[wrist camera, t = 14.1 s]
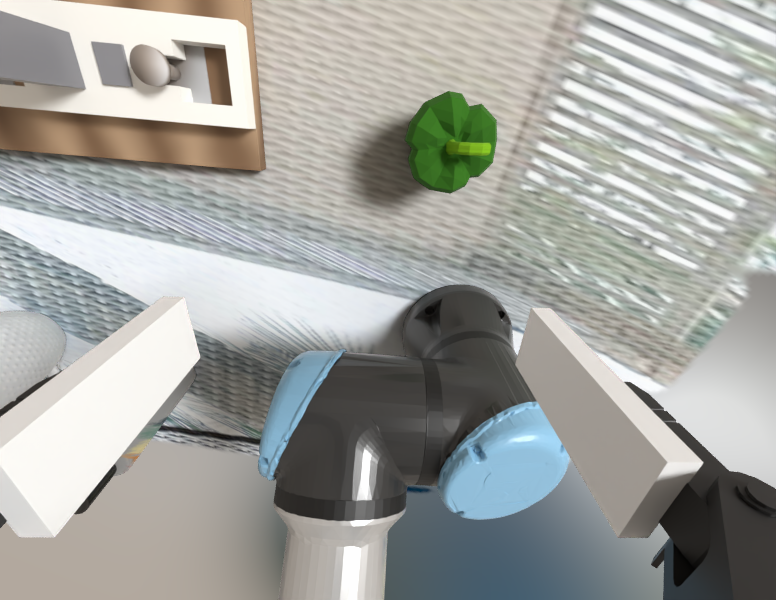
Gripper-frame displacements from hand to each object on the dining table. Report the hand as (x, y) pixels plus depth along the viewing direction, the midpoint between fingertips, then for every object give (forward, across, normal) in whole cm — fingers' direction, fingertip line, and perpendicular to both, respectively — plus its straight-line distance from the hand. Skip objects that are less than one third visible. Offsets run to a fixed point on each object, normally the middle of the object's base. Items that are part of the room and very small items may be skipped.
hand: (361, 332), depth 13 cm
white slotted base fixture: (+26, +26, -11) cm, 38 cm away
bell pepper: (+28, -7, -6) cm, 30 cm away
